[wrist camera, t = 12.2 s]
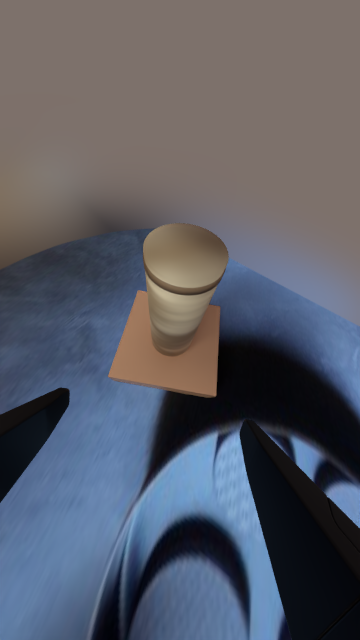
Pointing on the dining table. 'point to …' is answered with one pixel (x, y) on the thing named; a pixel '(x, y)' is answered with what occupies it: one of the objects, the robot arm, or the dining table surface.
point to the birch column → (180, 282)
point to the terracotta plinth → (168, 371)
